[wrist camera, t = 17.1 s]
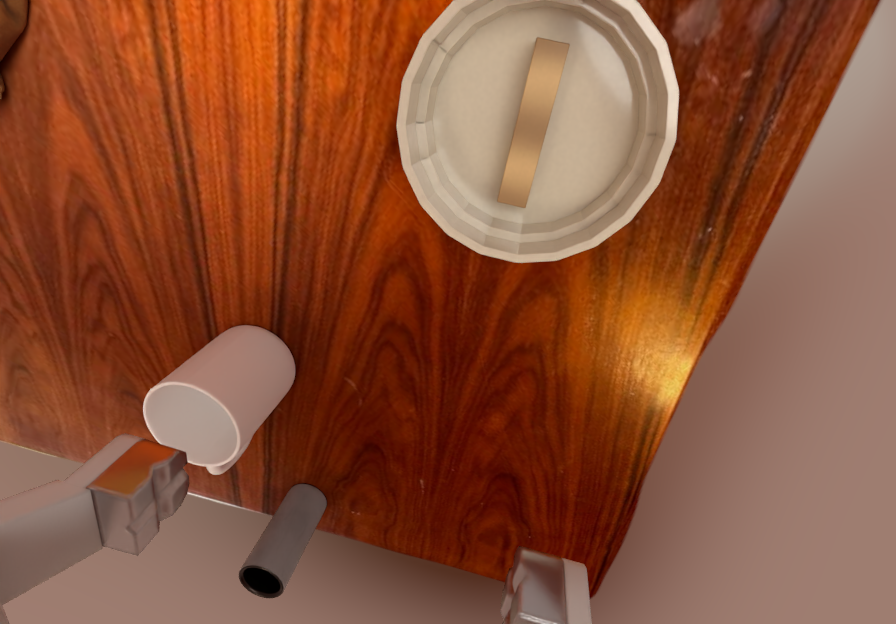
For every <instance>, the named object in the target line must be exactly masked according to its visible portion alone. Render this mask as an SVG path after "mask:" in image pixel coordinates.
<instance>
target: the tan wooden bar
mask: <svg viewBox="0 0 896 624" xmlns="http://www.w3.org/2000/svg"><path fill="white" fill-rule="evenodd" d="M569 47H570V44H568V43H563V42H558V41H554V40H549V39H544V38H540V37H537V39H536V43H535V47H534V51H533V55H532V59H531V63H530V67H529V71H528V76H527V80H526V84H525V88H524V92H523V96H522V100H521V104H520V108H519V112H518V117H517V121H516V125H515V129H514V133H513V137H512V141H511V145H510V149H509V154H508V158H507V162H506V166H505V170H504V174H503V178H502V182H501V186H500V191H499V195H498V199H497V202H500V203H504V204H508V205H513V206H517V207H521V208H526V204H527V201H528V197H529V193H530V190H531V186H532V182H533V179H534V175H535V171H536V168H537V164H538V160H539V157H540V153H541V149H542V146H543V142H544V138H545V135H546V131H547V127H548V124H549V120H550V116H551V113H552V109H553V105H554V102H555V98H556V94H557V91H558V87H559V83H560V80H561V76H562V72H563V69H564V65H565V61H566V58H567V54H568V50H569Z"/></svg>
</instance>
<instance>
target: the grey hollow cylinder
mask: <svg viewBox="0 0 896 624" xmlns="http://www.w3.org/2000/svg"><path fill="white" fill-rule="evenodd" d="M326 506H327V501H326V498H325V496H324V495H323V493H322V492H321V491H320V490H318V489H317V488H315V487H313V486H311V485H308V484H297V485H295V486H293V487H292V488H291V489H290V490H289V492H288V493H287V495H286V497H285V498H284V500H283V501H282V503H281V505H280V506H279V508H278V509H277V511H276V513H275V514H274V516H273V517H272V519H271V521H270V522H269V524H268V526H267V527H266V529H265V531H264V532H263V534H262V535H261V537H260V539H259V540H258V542H257V543H256V545H255V546H254V548H253V550H252V551H251V553H250V555H249V556H248V558H247V559H246V561H245V563H244V564H243V566H242V568H241V569H240V571H239V579H240V582H241V583H242V584H243V586H244V587H245V588H246V589H247V590H248V591H250V592H251V593H253V594H255V595H257V596H260V597H264V598H275V597H278V596H280V595H281V594H282V593H283V591H284V590H285V587H286V586H287V584H288V582H289V580H290V578H291V576H292V574H293V572H294V570H295V568H296V566H297V564H298V562H299V560H300V558H301V556H302V554H303V552H304V550H305V548H306V546H307V544H308V542H309V540H310V538H311V537H312V534H313V533H314V531H315V529H316V527H317V525H318V523H319V521H320V519H321V517H322V515H323V513H324V511H325V508H326Z"/></svg>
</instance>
